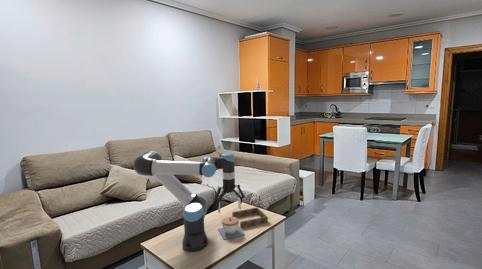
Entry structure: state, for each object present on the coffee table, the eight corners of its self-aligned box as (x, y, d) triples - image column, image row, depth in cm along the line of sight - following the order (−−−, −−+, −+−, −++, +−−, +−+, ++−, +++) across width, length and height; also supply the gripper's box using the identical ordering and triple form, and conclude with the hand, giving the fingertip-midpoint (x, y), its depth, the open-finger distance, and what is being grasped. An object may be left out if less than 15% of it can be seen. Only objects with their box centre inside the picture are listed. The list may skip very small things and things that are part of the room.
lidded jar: (238, 235, 167) (238, 221, 166) (221, 236, 167) (220, 222, 166) (239, 227, 178) (238, 213, 176) (223, 227, 178) (222, 214, 177)
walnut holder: (240, 228, 177) (240, 222, 177) (232, 217, 194) (232, 212, 193) (267, 222, 184) (267, 216, 184) (257, 212, 200) (257, 207, 200)
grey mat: (223, 239, 164) (223, 239, 164) (217, 229, 177) (217, 228, 177) (245, 235, 169) (245, 234, 169) (237, 225, 182) (237, 224, 182)
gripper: (210, 182, 160) (211, 216, 163) (249, 177, 168) (250, 209, 171) (207, 178, 167) (208, 211, 170) (245, 174, 175) (245, 205, 178)
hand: (229, 210), depth 171 cm, fingers open, 13 cm apart
